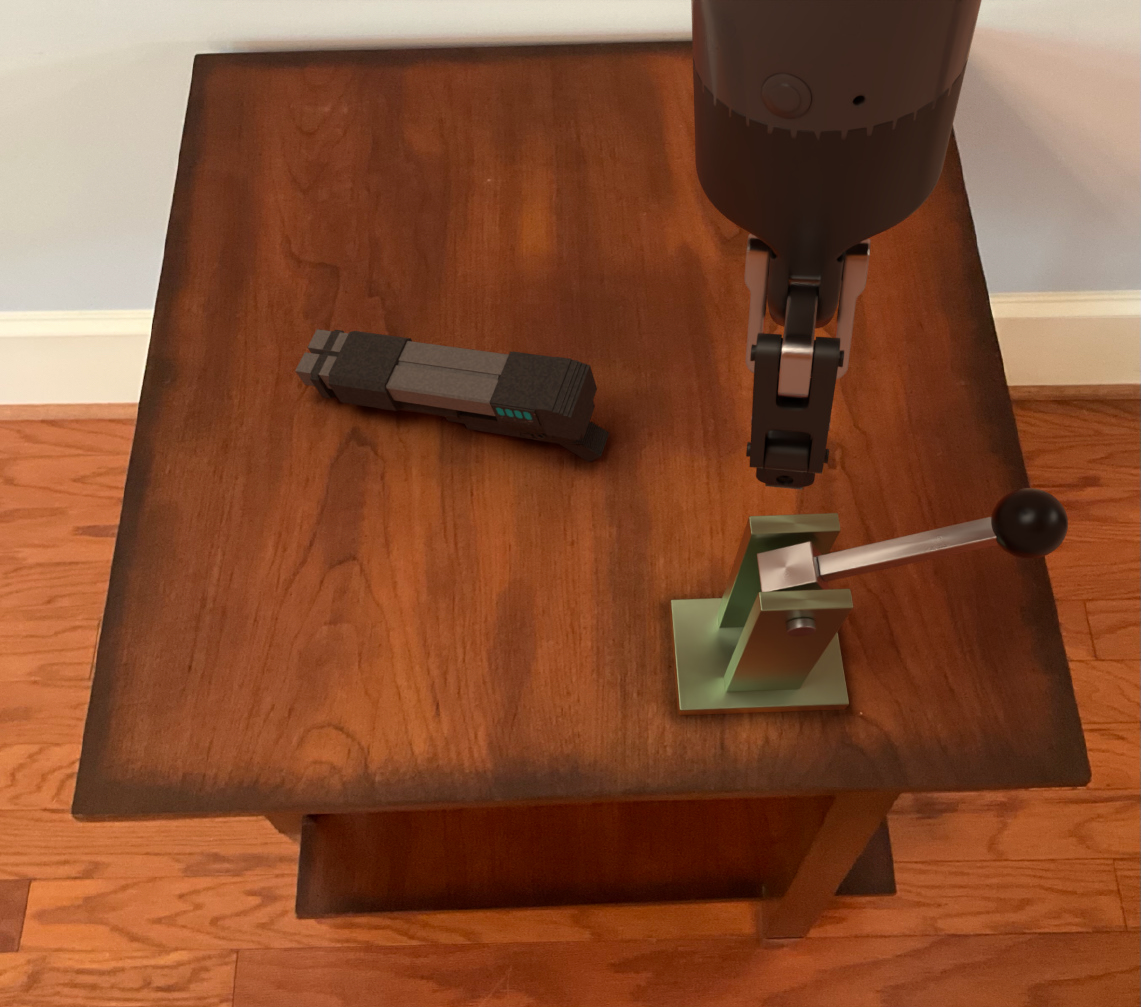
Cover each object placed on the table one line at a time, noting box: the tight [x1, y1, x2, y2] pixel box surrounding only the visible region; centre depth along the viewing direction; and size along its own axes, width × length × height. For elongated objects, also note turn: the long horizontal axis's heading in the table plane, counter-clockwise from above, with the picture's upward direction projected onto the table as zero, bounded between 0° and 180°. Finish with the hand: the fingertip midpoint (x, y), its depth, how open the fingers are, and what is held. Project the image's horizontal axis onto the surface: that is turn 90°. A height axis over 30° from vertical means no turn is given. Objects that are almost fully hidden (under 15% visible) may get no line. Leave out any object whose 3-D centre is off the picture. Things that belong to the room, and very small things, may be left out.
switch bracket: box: [668, 512, 854, 716], centre depth 55 cm, size 10×7×15 cm
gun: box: [294, 328, 610, 463], centre depth 68 cm, size 4×20×10 cm, turn 73°
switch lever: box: [757, 487, 1069, 592], centre depth 48 cm, size 14×3×3 cm, turn 92°
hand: (793, 390), depth 42 cm, fingers open, 8 cm apart
